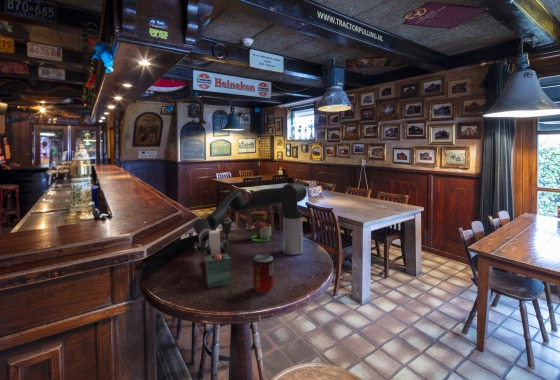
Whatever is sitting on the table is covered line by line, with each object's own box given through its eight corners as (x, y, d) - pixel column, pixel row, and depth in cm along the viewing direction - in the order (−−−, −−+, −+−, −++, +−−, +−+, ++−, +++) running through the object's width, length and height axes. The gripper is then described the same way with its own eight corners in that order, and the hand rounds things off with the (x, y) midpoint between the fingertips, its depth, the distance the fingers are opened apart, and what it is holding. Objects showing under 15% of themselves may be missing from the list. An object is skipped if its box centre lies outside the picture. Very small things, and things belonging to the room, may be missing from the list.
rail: (230, 284, 110) (230, 258, 108) (208, 288, 107) (207, 261, 105) (217, 260, 133) (216, 238, 132) (199, 262, 130) (198, 240, 129)
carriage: (223, 276, 114) (222, 233, 112) (210, 278, 112) (208, 234, 110) (220, 270, 120) (219, 229, 117) (207, 272, 118) (206, 230, 115)
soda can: (275, 286, 108) (275, 253, 107) (270, 295, 101) (270, 260, 100) (257, 284, 110) (256, 252, 108) (250, 293, 103) (250, 259, 101)
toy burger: (246, 241, 160) (245, 214, 158) (253, 235, 172) (253, 209, 170) (267, 243, 157) (267, 215, 155) (273, 236, 169) (273, 210, 167)
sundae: (235, 239, 165) (234, 212, 163) (229, 242, 158) (228, 214, 156) (224, 237, 167) (224, 211, 165) (218, 241, 160) (217, 213, 158)
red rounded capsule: (222, 269, 109) (222, 256, 108) (214, 270, 108) (214, 257, 107) (221, 266, 112) (220, 253, 111) (213, 267, 110) (213, 254, 110)
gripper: (225, 245, 131) (235, 258, 115) (191, 249, 125) (196, 264, 110) (225, 228, 130) (234, 240, 114) (191, 232, 124) (196, 244, 109)
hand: (216, 251), depth 112 cm, fingers open, 4 cm apart
